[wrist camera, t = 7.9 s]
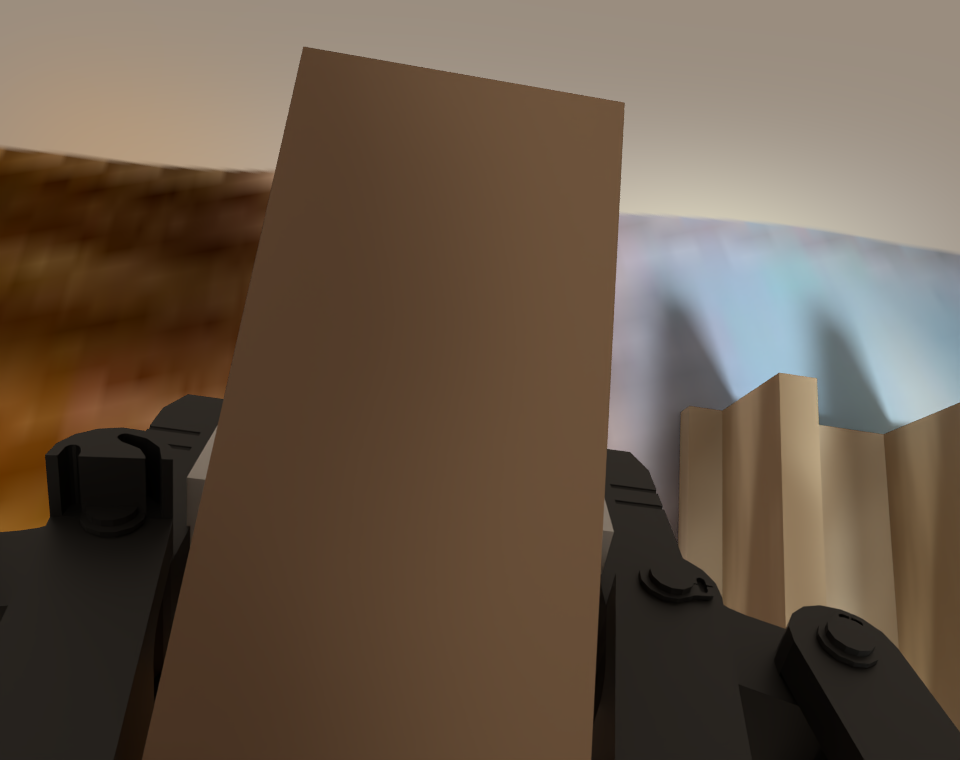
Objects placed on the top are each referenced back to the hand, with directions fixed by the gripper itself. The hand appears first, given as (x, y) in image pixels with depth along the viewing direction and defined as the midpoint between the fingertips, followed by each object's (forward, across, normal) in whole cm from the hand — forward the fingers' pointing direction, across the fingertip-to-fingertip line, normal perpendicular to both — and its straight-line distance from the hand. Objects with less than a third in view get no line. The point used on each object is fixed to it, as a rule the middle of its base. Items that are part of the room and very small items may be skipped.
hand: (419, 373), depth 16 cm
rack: (+12, +18, -13) cm, 25 cm away
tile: (0, 0, -5) cm, 5 cm away
